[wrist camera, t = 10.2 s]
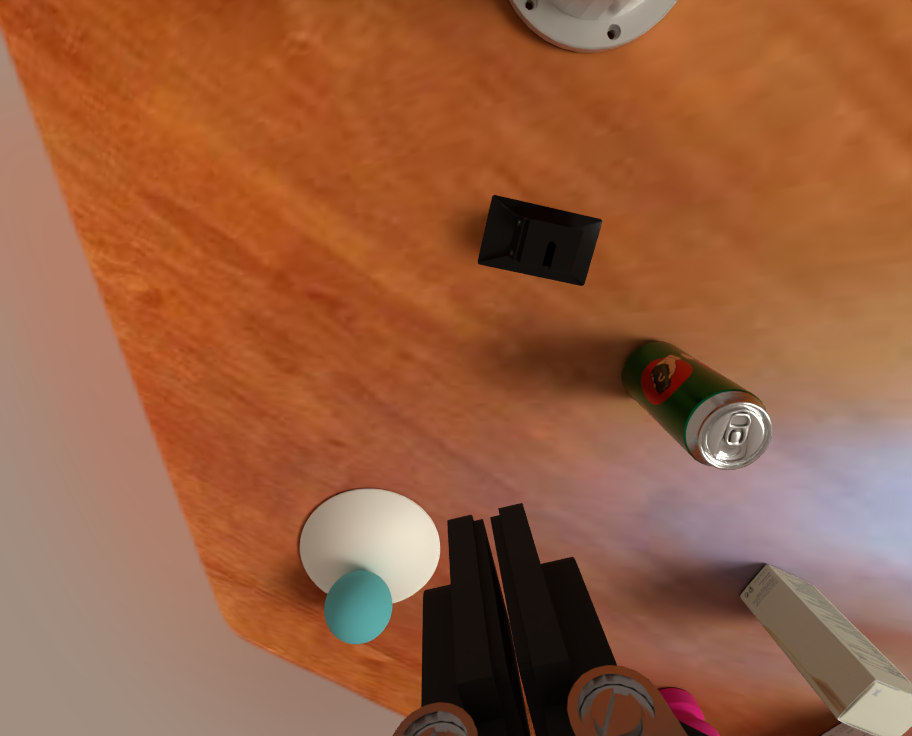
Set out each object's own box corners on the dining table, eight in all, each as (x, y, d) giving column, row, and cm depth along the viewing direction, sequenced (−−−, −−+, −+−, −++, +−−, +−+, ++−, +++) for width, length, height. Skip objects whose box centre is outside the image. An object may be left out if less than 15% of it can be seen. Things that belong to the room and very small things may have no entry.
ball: (331, 659, 43) (335, 592, 47) (398, 648, 44) (396, 582, 48) (313, 634, 39) (318, 564, 44) (387, 622, 40) (385, 553, 44)
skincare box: (736, 595, 49) (832, 720, 37) (765, 560, 48) (873, 678, 36) (788, 619, 50) (896, 747, 38) (817, 586, 49) (938, 707, 37)
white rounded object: (280, 507, 43) (279, 508, 43) (419, 473, 43) (419, 474, 43) (326, 617, 47) (325, 619, 47) (454, 587, 47) (454, 588, 47)
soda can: (615, 399, 42) (685, 475, 30) (624, 338, 40) (702, 394, 29) (676, 400, 42) (768, 477, 31) (688, 340, 41) (789, 397, 29)
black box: (445, 271, 39) (447, 280, 34) (466, 168, 36) (471, 164, 32) (603, 304, 40) (624, 317, 36) (633, 207, 38) (659, 208, 33)
